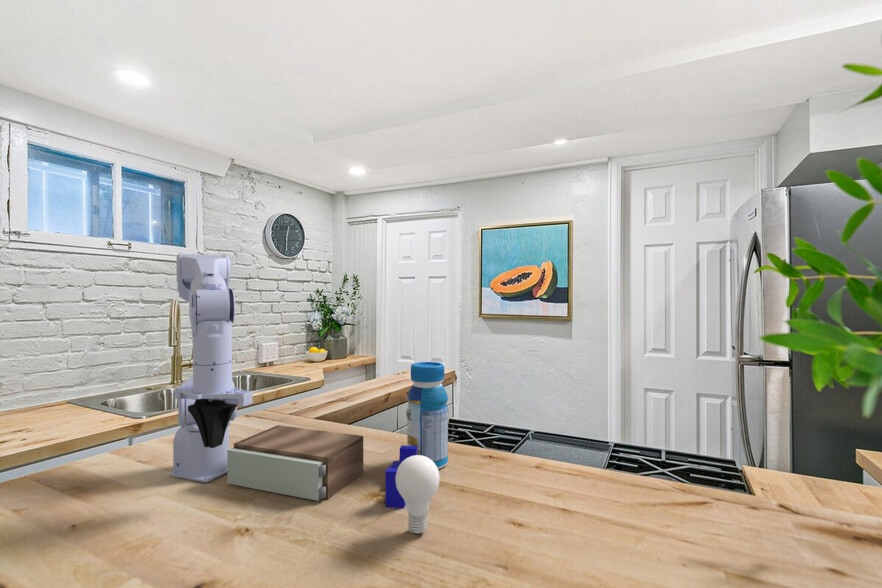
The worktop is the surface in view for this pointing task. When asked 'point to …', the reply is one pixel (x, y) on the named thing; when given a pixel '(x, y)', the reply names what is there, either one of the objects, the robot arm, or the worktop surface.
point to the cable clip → (391, 490)
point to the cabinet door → (276, 473)
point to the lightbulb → (417, 489)
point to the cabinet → (314, 451)
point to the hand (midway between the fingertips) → (213, 445)
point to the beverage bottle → (428, 412)
